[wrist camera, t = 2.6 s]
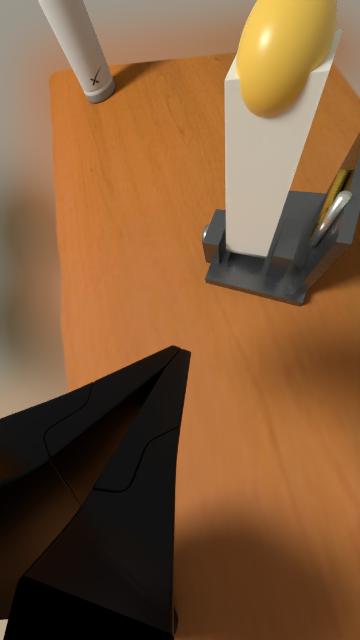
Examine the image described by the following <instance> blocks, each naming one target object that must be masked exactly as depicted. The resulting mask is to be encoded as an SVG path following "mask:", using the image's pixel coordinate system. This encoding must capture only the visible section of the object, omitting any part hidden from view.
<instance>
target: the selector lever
mask: <svg viewBox="0 0 360 640" xmlns="http://www.w3.org/2000/svg"><path fill="white" fill-rule="evenodd" d="M336 19H337V1H336V0H257V2H256V4H255V5H254V7H253V9H252V11H251V13H250V15H249V17H248V19H247V22H246V24H245V27H244V30H243V33H242V36H241V39H240V43H239V47H238V53H237V55H236V57H235V59H234V61H233V63H232V66H231V68H230V70H229V72H228V74H227V76H226V79H225V182H226V251H228V252H233V253H239V254H244V255H249V256H254V257H259V258H264V259H266V257H267V254H268V251H269V248H270V245H271V242H272V239H273V236H274V233H275V230H276V227H277V224H278V222H279V219H280V216H281V213H282V210H283V207H284V204H285V201H286V198H287V195H288V192H289V189H290V186H291V183H292V180H293V177H294V174H295V171H296V168H297V165H298V162H299V159H300V156H301V153H302V150H303V147H304V144H305V141H306V139H307V136H308V133H309V130H310V127H311V124H312V121H313V118H314V115H315V112H316V109H317V106H318V103H319V100H320V97H321V94H322V91H323V88H324V85H325V82H326V79H327V76H328V73H329V70H330V67H331V64H332V61H333V58H334V55H335V52H336V49H337V46H338V43H339V40H340V37H341V34H342V31H343V29H338V30H335V29H336Z"/></svg>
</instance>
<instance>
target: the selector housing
mask: <svg viewBox="0 0 360 640" xmlns="http://www.w3.org/2000/svg"><path fill="white" fill-rule="evenodd" d="M359 213H360V133H359V134H358V136H357V138H356V140H355V142H354V144H353V145H352V147H351V149H350V151H349V153H348V155H347V156H346V158H345V160H344V162H343V164H342V165H341V167H340V169H339V171H338V173H337V175H336V176H335V178H334V180H333V182H332V184H331V185H330V187H329V189H328V191H327V193H326V194H323V193H311V192H299V191H289V192H288V195H287V198H286V201H285V204H284V207H283V210H282V213H281V216H280V219H279V222H278V224H277V227H276V230H275V233H274V236H273V239H272V242H271V245H270V248H269V251H268V254H267V257H266V259H264V258H259V257H254V256H249V255H244V254H239V253H233V252H228V251H226V210H218V209H216V210H215V213H214V215H213V218H212V220H211V223H210V225H206V226H205V228H204V230H203V234H202V244H203V248H204V253H205V259H206V262H208V263H211V265H210V267H209V270H208V272H207V275H206V278H205V280H206V283H210V284H213V285H217V286H221V287H225V288H229V289H233V290H237V291H241V292H245V293H249V294H253V295H257V296H261V297H265V298H268V299H272V300H276V301H280V302H284V303H288V304H292V305H296V306H300V305H301V304H302V303H303V301H304V297H305V294H306V291H307V290H308V289H309V288H310V287H311V286H312V285H313V284H314V283H315V282H316V281H317V280H318V279H319V278H320V277H321V276H322V275H323V274H324V273H325V271H326V270H327V269H328V268H329V267H330V266H331V265H332V264H333V263H334V262H335V261H336V260H337V259H338V258H339V257H340V256H341V255H342V254H343V253H344V252H345V251H346V250H347V249H348V248H349V247H350V245H351V244H352V241H353V237H354V233H355V229H356V225H357V221H358V217H359Z"/></svg>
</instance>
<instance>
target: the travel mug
mask: <svg viewBox="0 0 360 640" xmlns="http://www.w3.org/2000/svg"><path fill="white" fill-rule="evenodd" d="M38 1H39V3H40V5H41V7H42V9H43V11H44V13H45V15H46V17H47V19H48V21H49V23H50V25H51V27H52V29H53V31H54V33H55V35H56V37H57V39H58V41H59V43H60V45H61V47H62V49H63V51H64V53H65V55H66V57H67V59H68V60H69V63H70V64H71V66H72V69H73V71H74V73H75V74H76V76H77V78H78V80H79V82H80V84H81V86H82V88H83V90H84V92H85V94H86V96H87V98H88V100H89V101H90V102H92V103H99V102H102V101H104V100H106V99H107V98H108V97H109V96H110V95H111V94H112V93H113V91H114V89H115V83H114V80H113V78H112V75H111V73H110V70H109V67H108V65H107V62H106V60H105V57H104V55H103V52H102V49H101V47H100V44H99V41H98V39H97V36H96V34H95V31H94V28H93V26H92V23H91V21H90V18H89V16H88V13H87V11H86V8H85V5H84V3H83V0H38Z"/></svg>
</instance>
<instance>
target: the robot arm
mask: <svg viewBox="0 0 360 640" xmlns="http://www.w3.org/2000/svg"><path fill="white" fill-rule="evenodd" d="M190 357H191V352H190V351H187V350H185V349H181V348H179V347H177V346H174V345H172V346H170V347H168V348H165V349H163V350H161V351H159V352H157V353H155V354H152V355H150V356H148V357H146V358H144V359H142V360H139V361H137V362H135V363H133V364H131V365H129V366H126V367H124V368H122V369H120V370H118V371H116V372H113V373H111V374H109V375H107V376H105V377H103V378H100V379H98V380H96V381H95V382H91V383H89V384H87V385H85V386H83V387H81V388H78V389H76V390H74V391H71V392H69V393H67V394H65V395H62V396H59V397H57V398H54V399H52V400H49V401H47V402H44V403H41V404H39V405H36V406H33V407H30V408H28V409H25V410H22V411H20V412H17V413H14V414H12V415H9V416H6V417H4V418H1V419H0V620H3V619H8V623H7V627H6V631H5V635H4V639H3V640H174V634H175V633H176V631H177V627H178V617H177V614H176V611H175V609H174V532H175V484H176V463H177V452H178V443H179V436H180V427H181V421H182V414H183V407H184V400H185V393H186V385H187V378H188V371H189V364H190Z"/></svg>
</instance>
